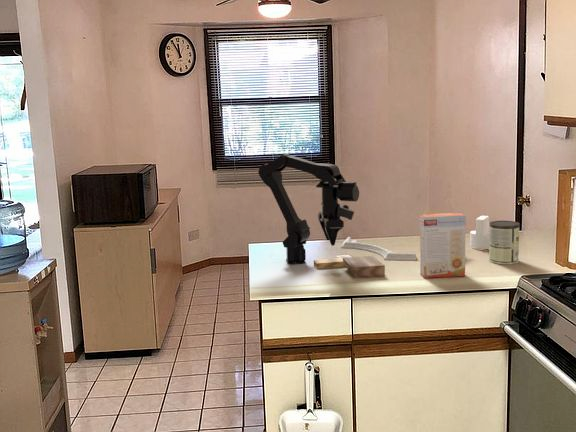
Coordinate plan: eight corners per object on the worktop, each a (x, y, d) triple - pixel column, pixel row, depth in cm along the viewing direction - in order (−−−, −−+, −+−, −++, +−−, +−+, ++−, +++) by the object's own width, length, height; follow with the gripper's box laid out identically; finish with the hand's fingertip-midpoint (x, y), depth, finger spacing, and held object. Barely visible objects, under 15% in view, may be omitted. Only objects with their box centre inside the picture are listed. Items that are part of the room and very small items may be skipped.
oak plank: (316, 269, 220) (316, 263, 220) (313, 266, 225) (313, 260, 225) (349, 267, 222) (349, 260, 222) (345, 264, 227) (345, 257, 227)
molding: (423, 260, 230) (423, 253, 229) (399, 265, 223) (399, 257, 223) (351, 242, 265) (351, 235, 264) (329, 245, 258) (329, 239, 258)
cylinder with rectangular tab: (490, 250, 239) (491, 220, 237) (467, 248, 244) (467, 218, 242) (495, 245, 247) (496, 216, 245) (473, 243, 251) (474, 215, 249)
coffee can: (487, 257, 229) (488, 220, 226) (517, 258, 226) (518, 220, 224) (489, 264, 219) (490, 225, 217) (519, 265, 216) (521, 226, 214)
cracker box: (459, 272, 210) (461, 211, 206) (465, 276, 204) (466, 214, 200) (419, 273, 210) (419, 213, 206) (423, 278, 204) (424, 216, 200)
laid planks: (351, 278, 206) (351, 267, 206) (342, 267, 220) (342, 257, 219) (384, 276, 208) (384, 265, 207) (374, 266, 221) (374, 255, 221)
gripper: (358, 203, 211) (358, 247, 214) (346, 195, 229) (346, 236, 232) (326, 204, 210) (326, 248, 213) (317, 196, 228) (317, 237, 231)
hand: (330, 242), depth 222 cm, fingers open, 9 cm apart
